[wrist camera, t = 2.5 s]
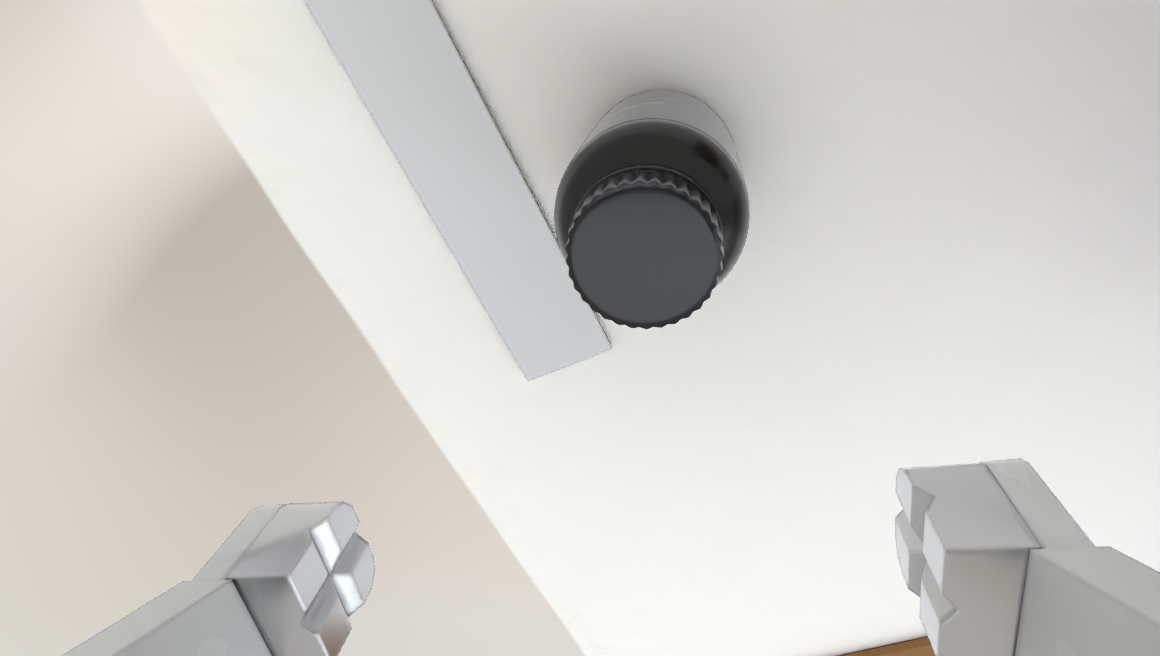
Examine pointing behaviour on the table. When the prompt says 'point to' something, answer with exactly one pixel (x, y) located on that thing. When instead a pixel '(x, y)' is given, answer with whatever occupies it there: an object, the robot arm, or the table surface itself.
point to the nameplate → (463, 175)
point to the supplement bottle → (652, 210)
